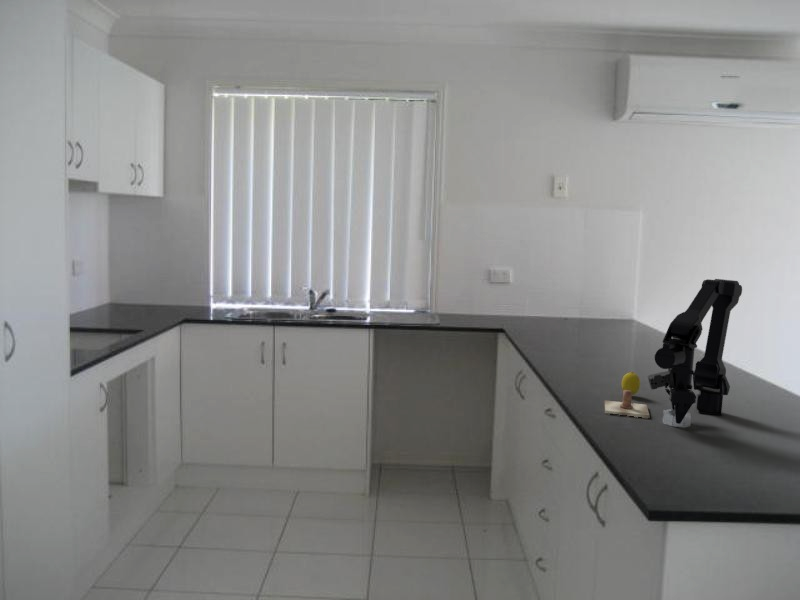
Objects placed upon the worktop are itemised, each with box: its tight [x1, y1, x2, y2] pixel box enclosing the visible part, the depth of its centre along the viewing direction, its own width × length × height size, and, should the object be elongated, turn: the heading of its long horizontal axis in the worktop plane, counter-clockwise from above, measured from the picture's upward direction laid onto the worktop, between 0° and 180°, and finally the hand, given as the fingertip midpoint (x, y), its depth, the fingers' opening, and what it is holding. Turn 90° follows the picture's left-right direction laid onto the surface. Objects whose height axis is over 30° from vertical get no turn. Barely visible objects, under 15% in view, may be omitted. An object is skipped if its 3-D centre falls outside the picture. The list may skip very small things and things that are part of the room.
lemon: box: [621, 371, 641, 396], centre depth 229 cm, size 6×6×8 cm
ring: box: [662, 408, 692, 428], centre depth 200 cm, size 7×7×3 cm
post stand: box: [604, 390, 650, 419], centre depth 211 cm, size 12×12×6 cm
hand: (676, 419), depth 200 cm, fingers closed on ring, 7 cm apart
